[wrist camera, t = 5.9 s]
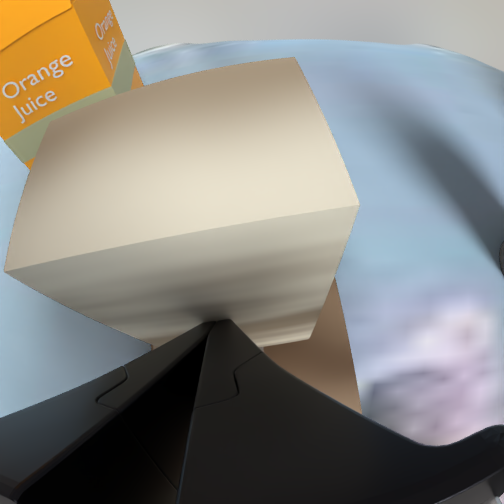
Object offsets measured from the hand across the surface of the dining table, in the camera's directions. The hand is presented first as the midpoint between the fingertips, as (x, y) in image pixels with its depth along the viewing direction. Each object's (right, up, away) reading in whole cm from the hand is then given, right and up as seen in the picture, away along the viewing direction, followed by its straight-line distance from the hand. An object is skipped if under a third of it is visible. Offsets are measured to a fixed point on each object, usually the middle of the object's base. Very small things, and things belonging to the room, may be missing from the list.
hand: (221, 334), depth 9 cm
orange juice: (-11, +10, +15) cm, 22 cm away
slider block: (-1, -1, +6) cm, 6 cm away
